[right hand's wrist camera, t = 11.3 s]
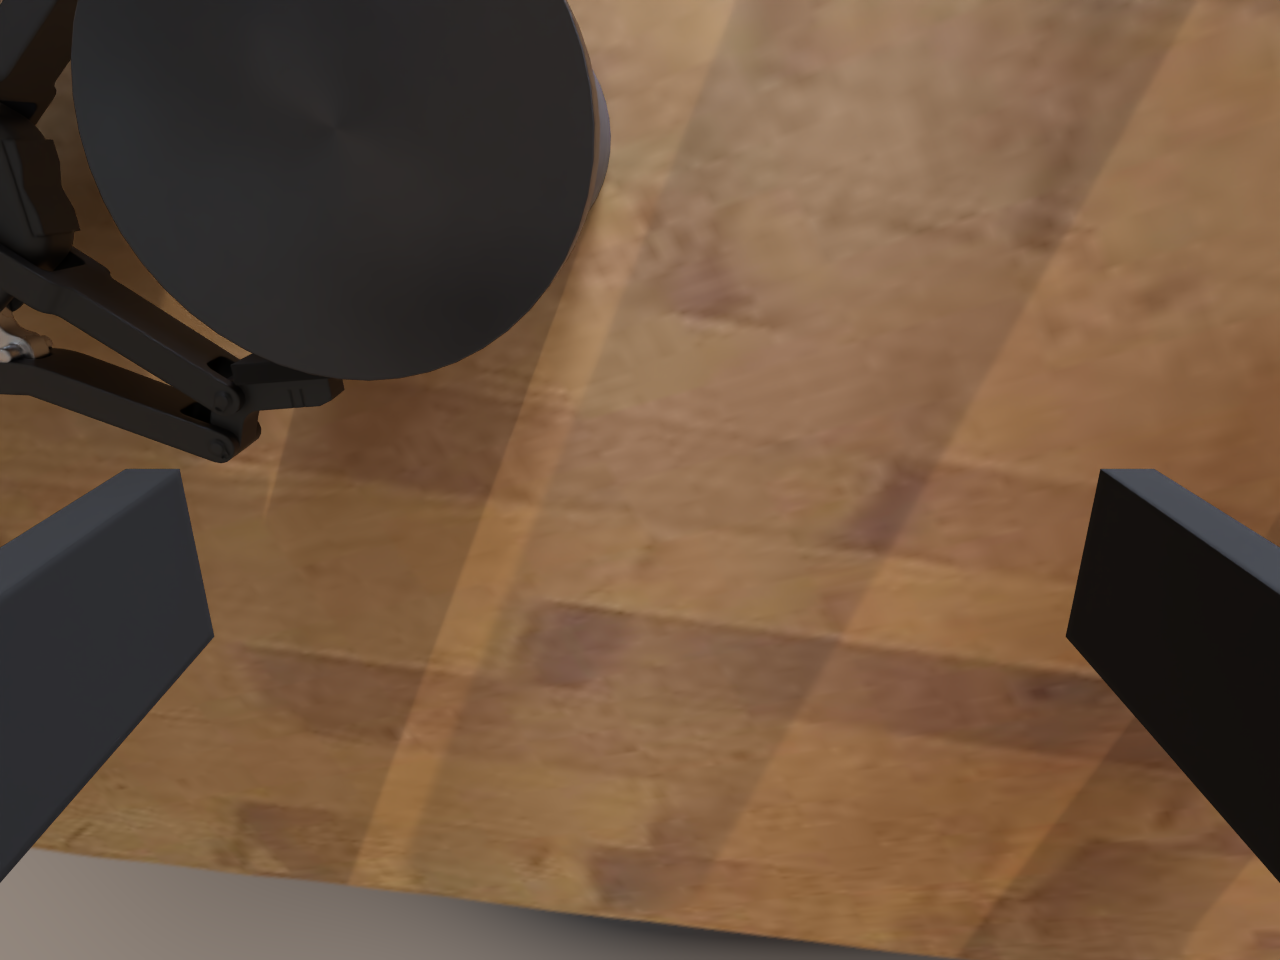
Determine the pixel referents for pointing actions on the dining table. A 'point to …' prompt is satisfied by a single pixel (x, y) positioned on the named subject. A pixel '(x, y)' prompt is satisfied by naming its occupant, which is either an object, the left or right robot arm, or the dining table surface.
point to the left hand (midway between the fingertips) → (388, 158)
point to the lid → (342, 166)
